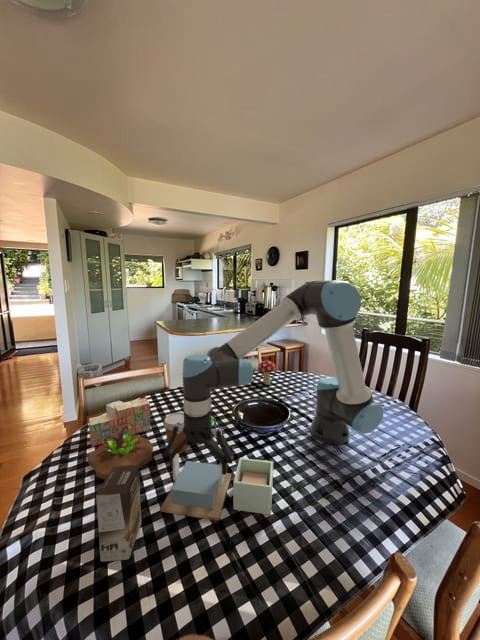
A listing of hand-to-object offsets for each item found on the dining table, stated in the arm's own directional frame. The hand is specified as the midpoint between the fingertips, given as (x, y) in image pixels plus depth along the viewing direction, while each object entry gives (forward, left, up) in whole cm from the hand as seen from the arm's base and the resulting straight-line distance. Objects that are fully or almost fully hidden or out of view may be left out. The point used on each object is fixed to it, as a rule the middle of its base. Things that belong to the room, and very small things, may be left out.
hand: (198, 480), depth 75 cm
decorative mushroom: (-14, -86, -4) cm, 87 cm away
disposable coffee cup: (+14, -18, -4) cm, 23 cm away
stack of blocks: (+39, -22, -4) cm, 45 cm away
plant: (+31, -10, -4) cm, 33 cm away
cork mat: (0, 0, -4) cm, 4 cm away
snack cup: (+7, -27, -4) cm, 28 cm away
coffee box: (+13, +17, -4) cm, 22 cm away
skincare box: (+49, -33, -4) cm, 59 cm away
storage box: (-16, -1, -4) cm, 16 cm away
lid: (0, 0, -3) cm, 3 cm away
